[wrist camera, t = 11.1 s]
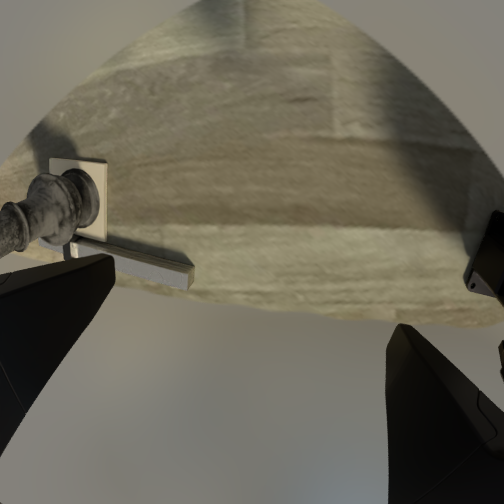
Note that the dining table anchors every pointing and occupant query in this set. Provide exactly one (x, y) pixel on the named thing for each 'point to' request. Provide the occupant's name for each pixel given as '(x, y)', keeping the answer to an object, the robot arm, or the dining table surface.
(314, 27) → the dining table surface
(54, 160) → the groove pad
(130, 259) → the white rectangular bar
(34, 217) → the dark grey tiered figure
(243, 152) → the dining table surface
